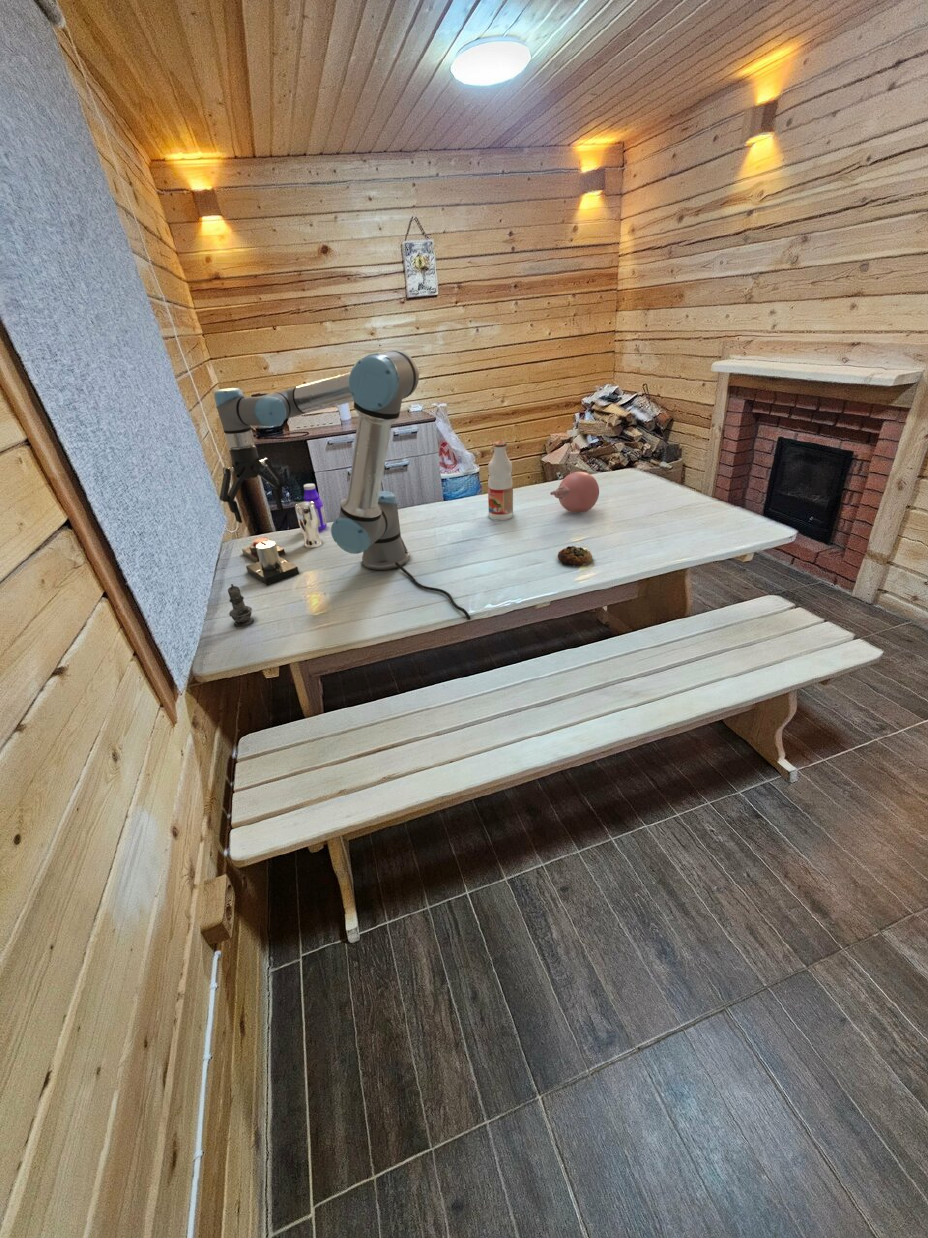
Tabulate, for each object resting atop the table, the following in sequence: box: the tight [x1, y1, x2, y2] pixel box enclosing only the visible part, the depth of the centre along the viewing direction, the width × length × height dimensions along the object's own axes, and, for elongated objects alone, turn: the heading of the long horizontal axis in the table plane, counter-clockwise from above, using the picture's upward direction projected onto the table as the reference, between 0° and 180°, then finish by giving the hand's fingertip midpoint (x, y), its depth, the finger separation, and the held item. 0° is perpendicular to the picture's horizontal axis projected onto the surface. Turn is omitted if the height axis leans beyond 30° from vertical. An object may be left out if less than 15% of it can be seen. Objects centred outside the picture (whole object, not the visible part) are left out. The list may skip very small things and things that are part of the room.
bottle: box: [303, 483, 328, 532], centre depth 196 cm, size 7×6×17 cm
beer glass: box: [294, 501, 323, 549], centre depth 184 cm, size 7×7×15 cm
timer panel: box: [245, 556, 300, 587], centre depth 168 cm, size 14×11×3 cm
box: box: [241, 538, 286, 563], centre depth 181 cm, size 12×10×4 cm
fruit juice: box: [487, 440, 514, 521], centre depth 195 cm, size 9×9×28 cm
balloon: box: [550, 471, 600, 514], centre depth 197 cm, size 15×20×15 cm
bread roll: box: [557, 545, 593, 567], centre depth 165 cm, size 11×11×5 cm
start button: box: [252, 536, 269, 547], centre depth 180 cm, size 5×5×2 cm
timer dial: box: [256, 540, 281, 570], centre depth 165 cm, size 6×6×8 cm
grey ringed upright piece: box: [227, 583, 255, 629], centre depth 139 cm, size 6×6×12 cm
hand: (260, 515), depth 163 cm, fingers open, 13 cm apart
